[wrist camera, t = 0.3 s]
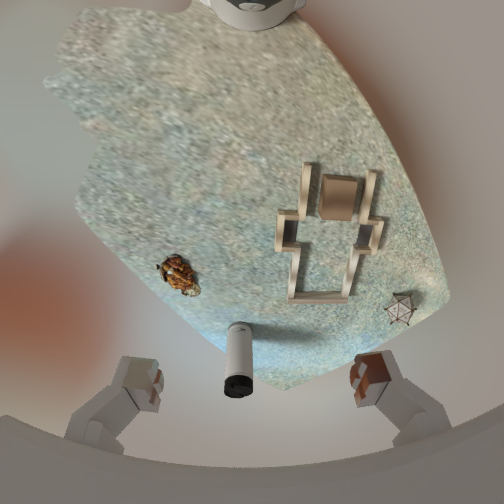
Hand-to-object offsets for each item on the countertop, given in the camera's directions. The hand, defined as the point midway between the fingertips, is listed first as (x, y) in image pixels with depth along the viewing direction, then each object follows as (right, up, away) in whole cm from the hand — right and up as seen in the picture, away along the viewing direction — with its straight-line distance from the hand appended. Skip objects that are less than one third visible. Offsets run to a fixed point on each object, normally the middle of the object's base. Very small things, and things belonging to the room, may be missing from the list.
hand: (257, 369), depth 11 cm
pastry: (-16, -1, +54) cm, 57 cm away
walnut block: (+16, +16, +45) cm, 50 cm away
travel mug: (-3, -15, +62) cm, 64 cm away
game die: (+38, -8, +59) cm, 70 cm away
